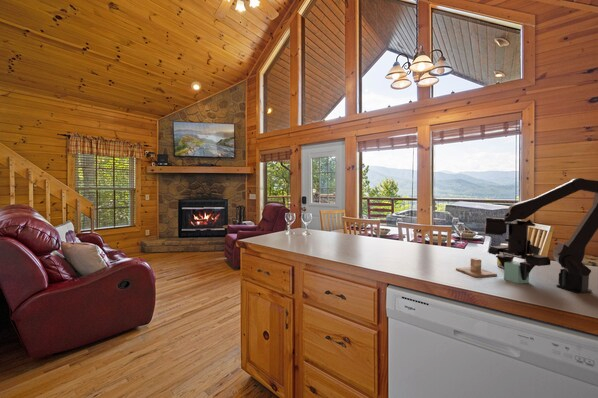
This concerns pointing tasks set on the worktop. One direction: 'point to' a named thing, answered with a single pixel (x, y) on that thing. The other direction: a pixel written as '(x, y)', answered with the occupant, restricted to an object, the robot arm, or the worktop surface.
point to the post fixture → (476, 269)
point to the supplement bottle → (498, 259)
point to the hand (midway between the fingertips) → (516, 277)
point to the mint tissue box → (514, 272)
